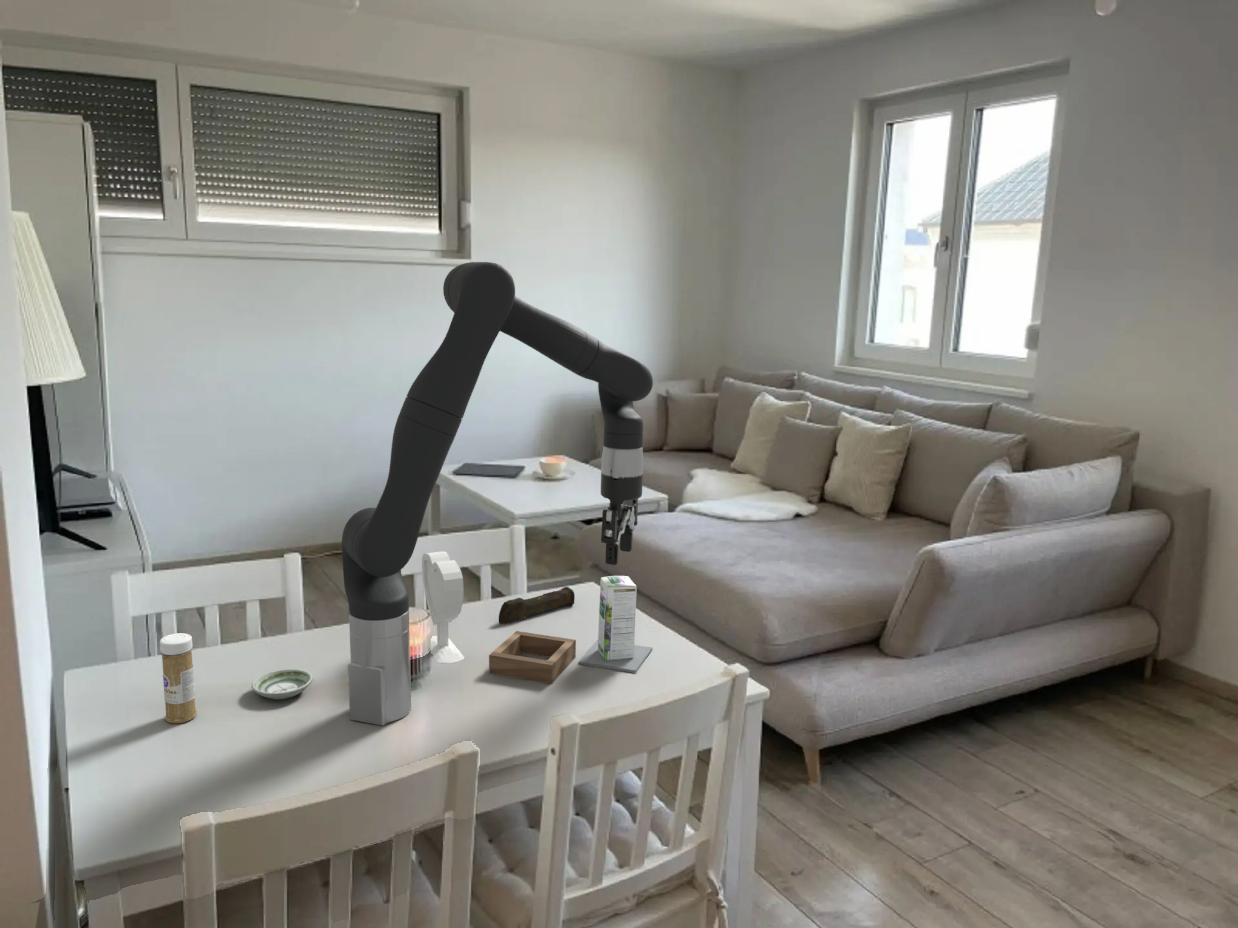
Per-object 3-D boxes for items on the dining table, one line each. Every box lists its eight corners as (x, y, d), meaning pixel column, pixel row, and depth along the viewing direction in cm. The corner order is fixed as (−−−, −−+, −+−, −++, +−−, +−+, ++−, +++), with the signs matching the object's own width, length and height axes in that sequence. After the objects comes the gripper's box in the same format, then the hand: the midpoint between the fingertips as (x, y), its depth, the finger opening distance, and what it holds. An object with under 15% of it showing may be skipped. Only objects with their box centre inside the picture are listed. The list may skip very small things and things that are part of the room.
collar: (551, 683, 161) (552, 664, 160) (489, 673, 164) (489, 654, 164) (575, 657, 172) (575, 639, 171) (516, 648, 175) (516, 630, 175)
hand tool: (564, 601, 202) (564, 581, 201) (575, 606, 199) (575, 586, 198) (491, 621, 189) (491, 600, 188) (502, 627, 186) (502, 605, 185)
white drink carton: (596, 649, 175) (598, 576, 172) (626, 646, 176) (628, 574, 173) (604, 661, 169) (606, 586, 166) (635, 658, 171) (637, 584, 168)
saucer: (287, 676, 161) (286, 663, 161) (325, 690, 157) (325, 676, 156) (239, 696, 153) (238, 683, 153) (278, 712, 148) (277, 698, 148)
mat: (635, 672, 166) (635, 670, 166) (578, 663, 169) (578, 661, 169) (652, 649, 176) (652, 647, 176) (597, 641, 179) (597, 639, 179)
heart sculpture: (419, 636, 180) (417, 547, 176) (444, 632, 182) (443, 544, 178) (441, 666, 166) (440, 571, 163) (468, 662, 169) (467, 568, 165)
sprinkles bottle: (159, 720, 144) (152, 639, 141) (183, 708, 148) (177, 629, 146) (180, 727, 142) (173, 645, 140) (204, 714, 146) (198, 635, 144)
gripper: (614, 461, 173) (611, 544, 176) (589, 476, 160) (586, 565, 163) (652, 465, 171) (649, 549, 174) (630, 480, 158) (627, 571, 161)
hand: (619, 557), depth 169 cm, fingers open, 8 cm apart
